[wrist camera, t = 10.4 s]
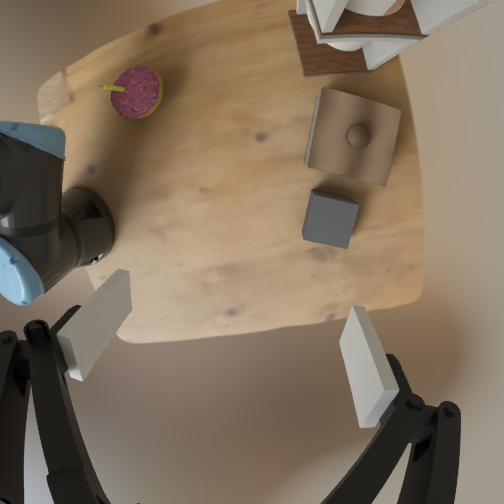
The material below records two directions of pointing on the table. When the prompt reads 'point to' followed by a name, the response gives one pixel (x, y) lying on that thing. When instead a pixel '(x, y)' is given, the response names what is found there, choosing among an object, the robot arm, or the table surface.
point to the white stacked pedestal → (366, 30)
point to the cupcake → (136, 92)
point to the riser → (329, 219)
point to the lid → (353, 136)
